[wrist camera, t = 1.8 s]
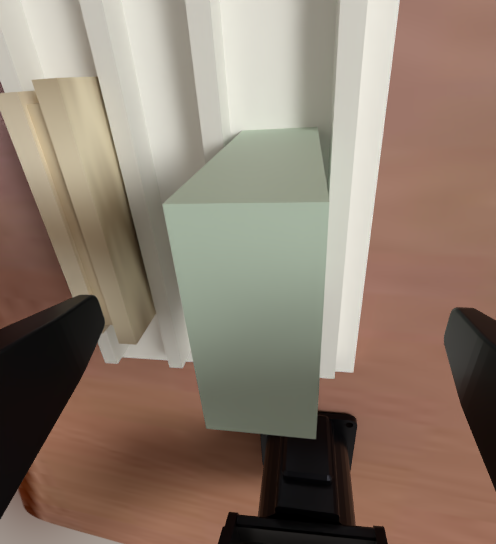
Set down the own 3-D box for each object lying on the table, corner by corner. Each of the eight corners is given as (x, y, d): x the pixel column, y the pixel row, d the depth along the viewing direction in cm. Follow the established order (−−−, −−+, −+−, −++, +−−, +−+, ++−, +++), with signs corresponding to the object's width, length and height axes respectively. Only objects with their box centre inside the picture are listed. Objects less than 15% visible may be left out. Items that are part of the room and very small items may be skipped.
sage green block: (312, 269, 17) (315, 439, 9) (251, 268, 17) (206, 428, 10) (317, 126, 13) (329, 201, 6) (242, 130, 14) (162, 204, 6)
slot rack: (351, 359, 21) (356, 393, 18) (119, 346, 23) (100, 374, 21) (407, -118, 11) (432, -165, 8) (-13, -53, 13) (-76, -77, 11)
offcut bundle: (163, 301, 19) (136, 344, 16) (118, 300, 20) (84, 341, 17) (111, 76, 14) (57, 78, 11) (51, 80, 14) (-18, 83, 11)
